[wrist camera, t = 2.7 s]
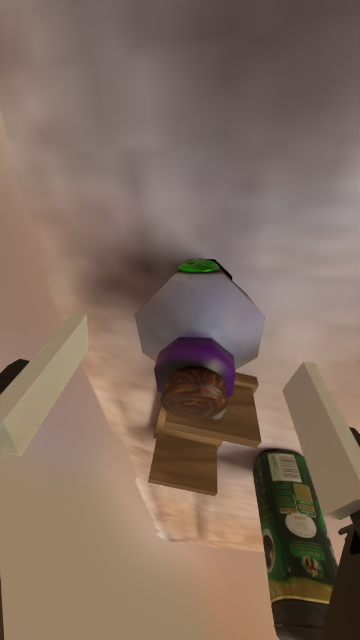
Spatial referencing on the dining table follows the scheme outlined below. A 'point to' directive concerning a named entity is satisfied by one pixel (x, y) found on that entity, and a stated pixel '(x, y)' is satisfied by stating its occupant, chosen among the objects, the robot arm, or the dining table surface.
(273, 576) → the coffee jar
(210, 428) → the holder
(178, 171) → the dining table surface
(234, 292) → the potion bottle
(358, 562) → the robot arm
